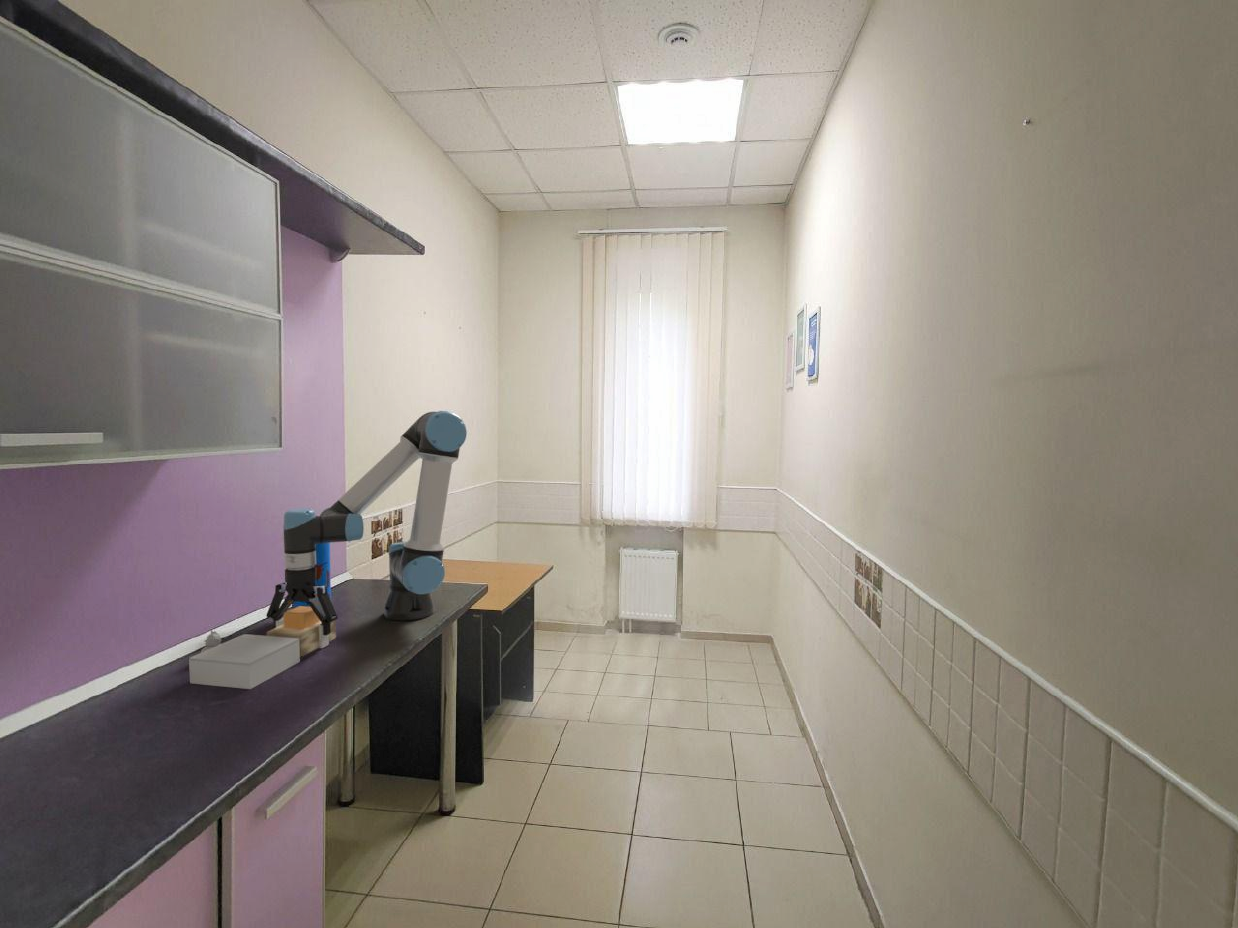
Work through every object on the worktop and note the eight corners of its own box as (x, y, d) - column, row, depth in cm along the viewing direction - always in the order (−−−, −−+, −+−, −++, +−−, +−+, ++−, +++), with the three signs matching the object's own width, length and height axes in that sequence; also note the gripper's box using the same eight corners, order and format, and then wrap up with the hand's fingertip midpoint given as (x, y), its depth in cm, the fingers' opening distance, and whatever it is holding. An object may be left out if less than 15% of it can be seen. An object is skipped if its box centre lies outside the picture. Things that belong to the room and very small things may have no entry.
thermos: (288, 615, 187) (286, 536, 185) (325, 608, 194) (323, 532, 192) (297, 624, 178) (294, 542, 177) (335, 617, 185) (333, 537, 184)
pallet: (304, 635, 170) (303, 615, 169) (335, 638, 168) (335, 617, 168) (267, 654, 156) (266, 631, 156) (301, 657, 154) (300, 634, 154)
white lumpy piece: (207, 656, 154) (206, 625, 154) (235, 654, 155) (234, 624, 154) (196, 664, 149) (194, 633, 148) (224, 663, 150) (223, 632, 149)
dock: (244, 656, 154) (244, 634, 153) (299, 661, 151) (299, 638, 150) (190, 683, 138) (188, 657, 138) (250, 689, 135) (249, 663, 135)
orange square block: (300, 620, 165) (299, 605, 165) (319, 621, 164) (319, 607, 164) (284, 627, 159) (283, 612, 159) (304, 628, 158) (303, 614, 158)
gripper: (249, 567, 159) (252, 646, 160) (332, 572, 155) (334, 653, 156) (270, 561, 166) (273, 636, 168) (350, 566, 162) (351, 643, 163)
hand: (302, 644), depth 162 cm, fingers open, 12 cm apart
